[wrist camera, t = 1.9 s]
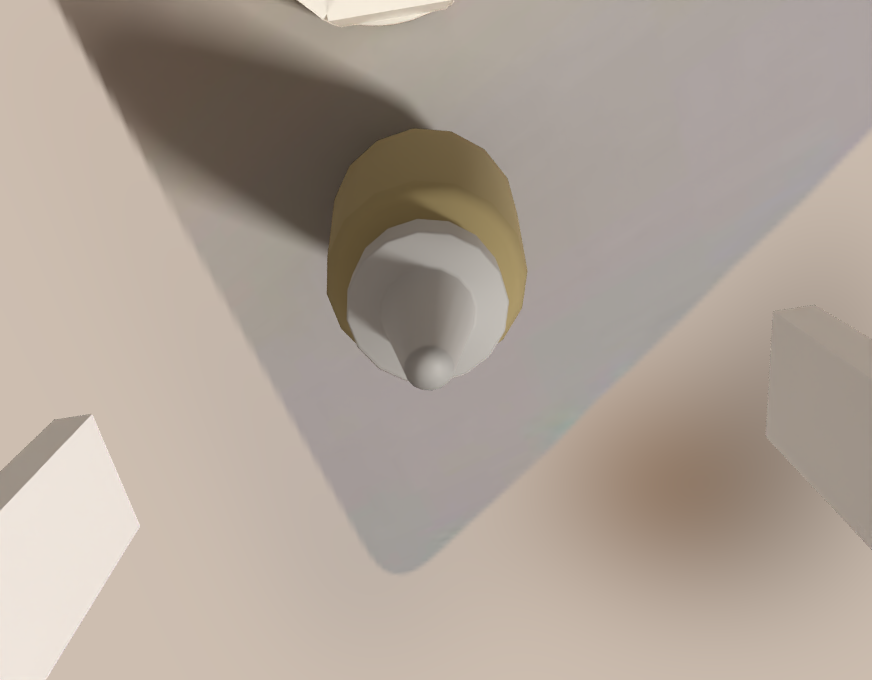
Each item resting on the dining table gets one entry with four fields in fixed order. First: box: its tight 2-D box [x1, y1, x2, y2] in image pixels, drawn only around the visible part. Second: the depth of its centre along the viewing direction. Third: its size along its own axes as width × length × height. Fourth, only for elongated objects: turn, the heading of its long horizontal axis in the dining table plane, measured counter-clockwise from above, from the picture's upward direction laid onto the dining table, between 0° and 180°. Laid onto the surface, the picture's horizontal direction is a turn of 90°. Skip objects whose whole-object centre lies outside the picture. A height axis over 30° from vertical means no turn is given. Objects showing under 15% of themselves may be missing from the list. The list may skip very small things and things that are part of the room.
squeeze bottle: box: [327, 128, 527, 391], centre depth 23 cm, size 8×8×18 cm
